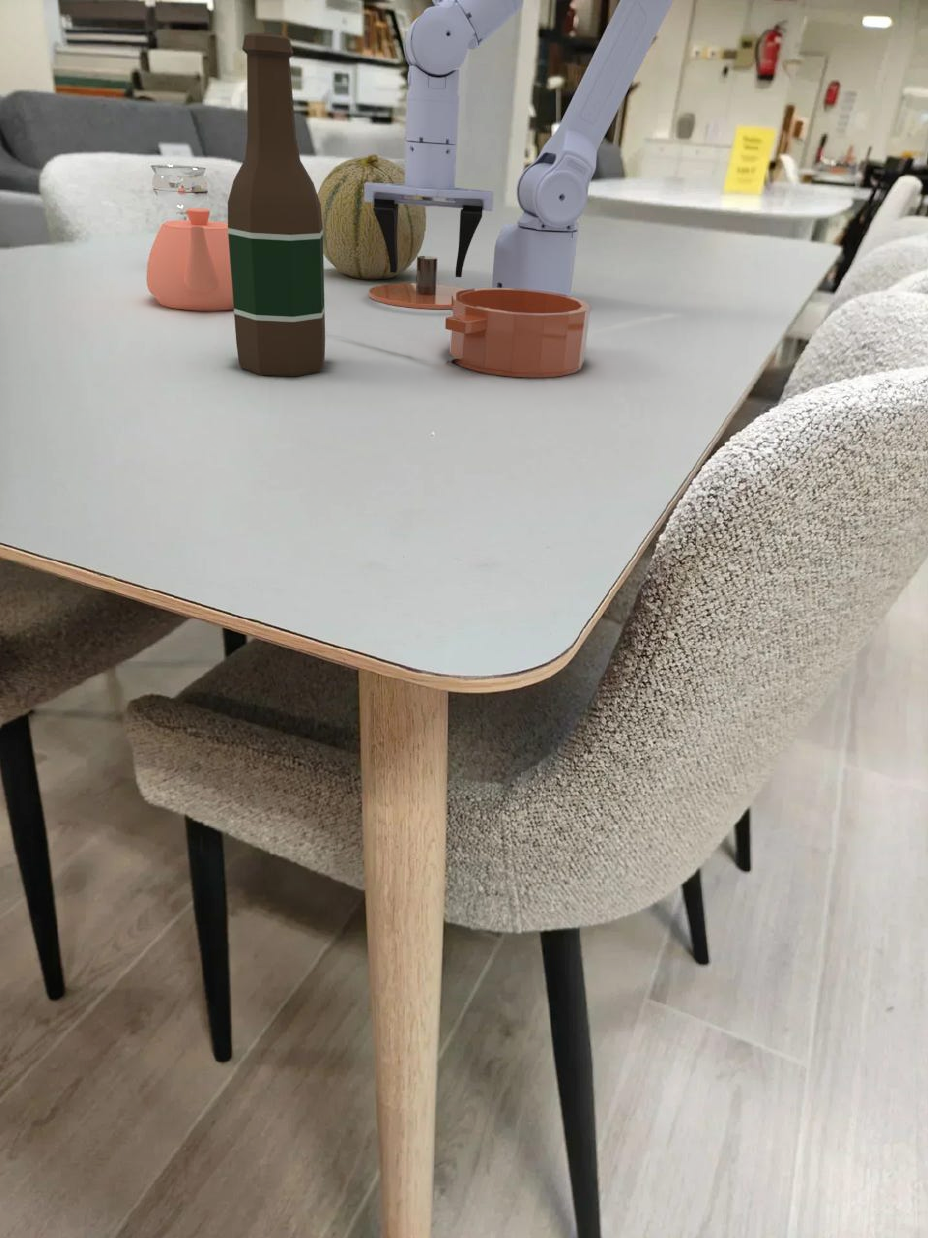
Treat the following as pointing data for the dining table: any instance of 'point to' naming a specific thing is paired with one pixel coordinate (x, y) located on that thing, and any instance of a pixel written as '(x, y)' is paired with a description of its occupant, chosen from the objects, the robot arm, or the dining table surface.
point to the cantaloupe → (366, 220)
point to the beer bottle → (275, 228)
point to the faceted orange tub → (518, 332)
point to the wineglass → (180, 187)
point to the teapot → (191, 264)
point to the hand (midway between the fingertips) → (426, 273)
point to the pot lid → (418, 289)
